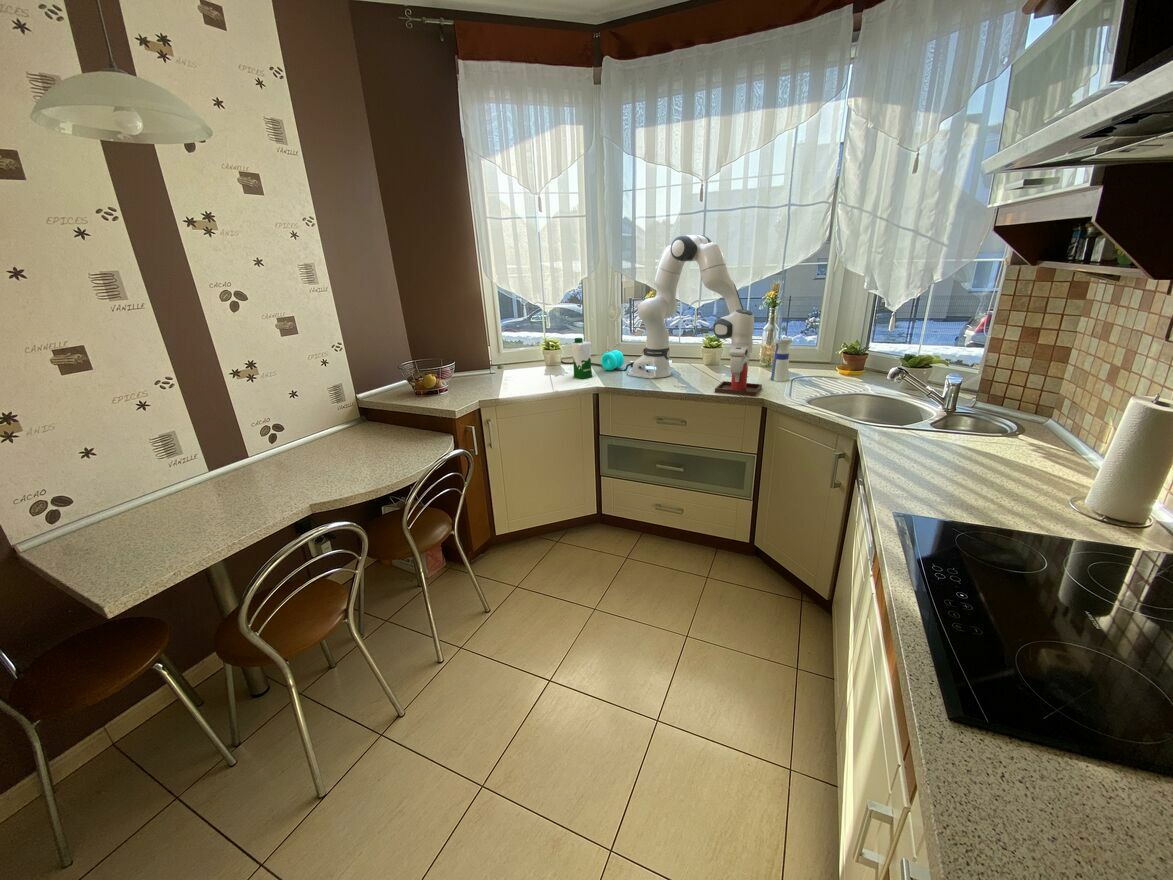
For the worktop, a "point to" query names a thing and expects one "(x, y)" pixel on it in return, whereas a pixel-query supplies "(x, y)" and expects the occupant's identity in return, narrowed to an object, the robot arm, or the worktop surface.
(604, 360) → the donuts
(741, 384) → the beer can
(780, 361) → the water bottle
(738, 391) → the tray
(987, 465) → the worktop surface
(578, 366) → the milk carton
